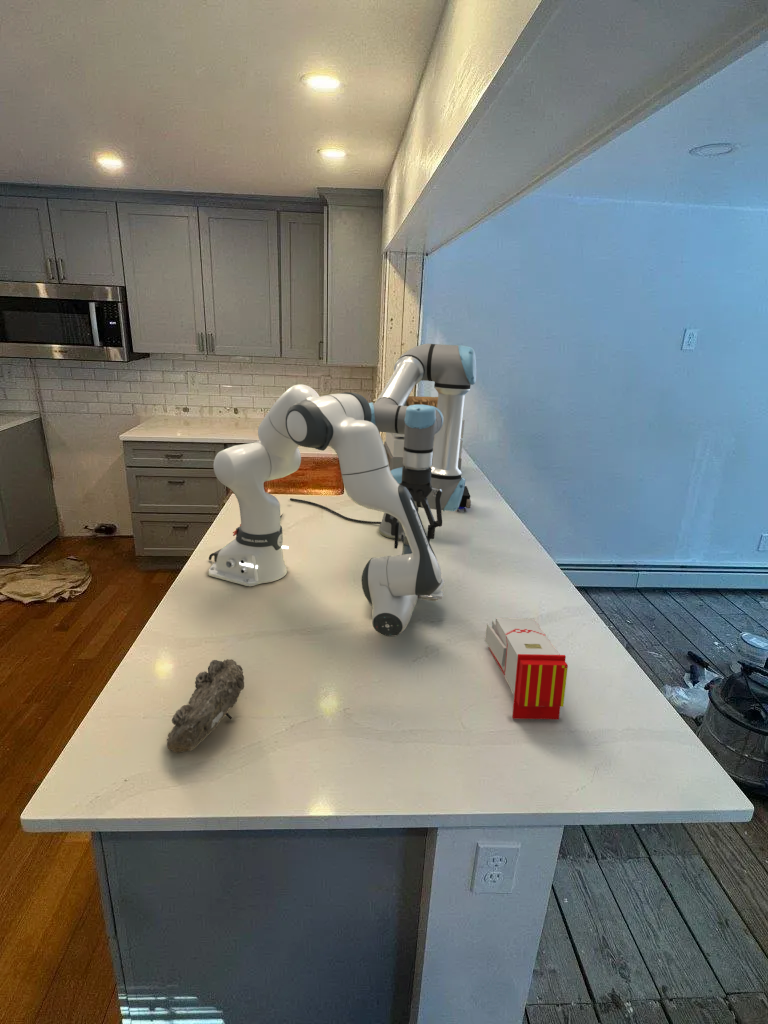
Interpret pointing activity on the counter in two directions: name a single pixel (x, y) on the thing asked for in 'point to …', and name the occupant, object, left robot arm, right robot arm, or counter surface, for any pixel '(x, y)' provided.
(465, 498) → the figurine character
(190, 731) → the fossil
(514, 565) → the counter surface
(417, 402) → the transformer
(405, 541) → the lid
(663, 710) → the counter surface
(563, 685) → the toy
